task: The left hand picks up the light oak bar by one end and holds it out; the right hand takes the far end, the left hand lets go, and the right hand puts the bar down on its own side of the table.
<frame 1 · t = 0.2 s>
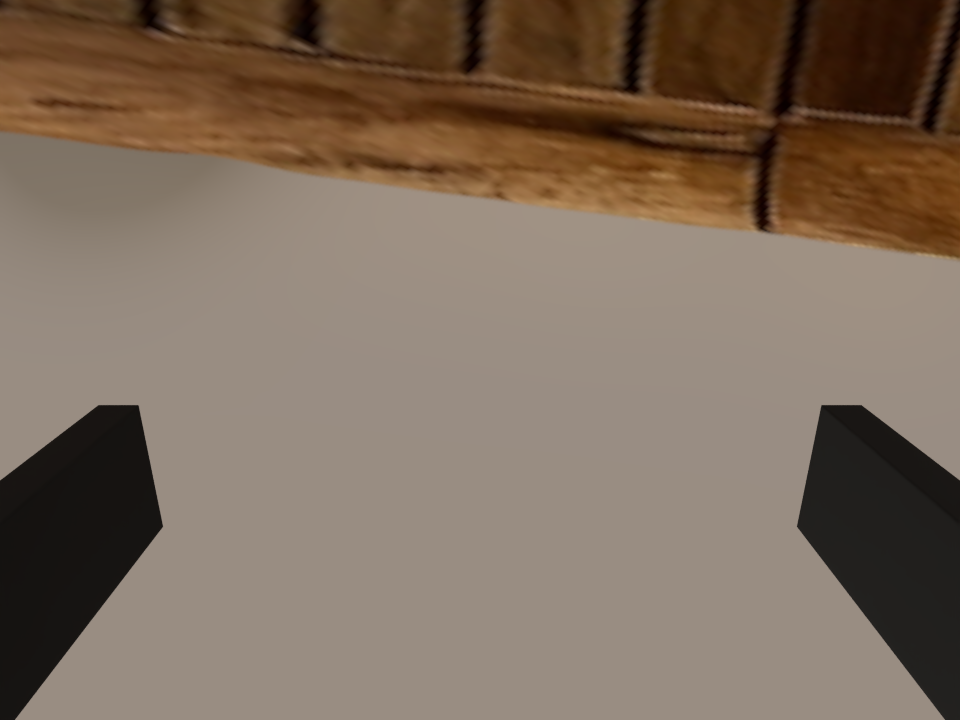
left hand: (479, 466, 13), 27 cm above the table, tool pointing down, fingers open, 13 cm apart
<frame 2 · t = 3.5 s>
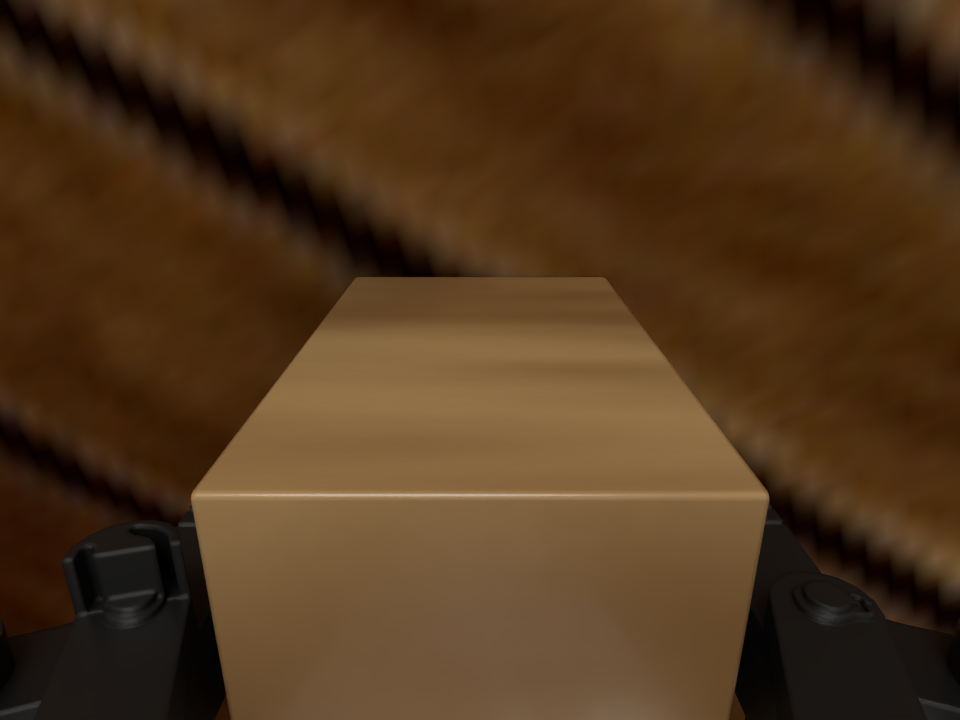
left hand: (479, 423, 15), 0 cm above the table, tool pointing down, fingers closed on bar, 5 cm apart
bar: (480, 694, 18), on the table, touching left hand
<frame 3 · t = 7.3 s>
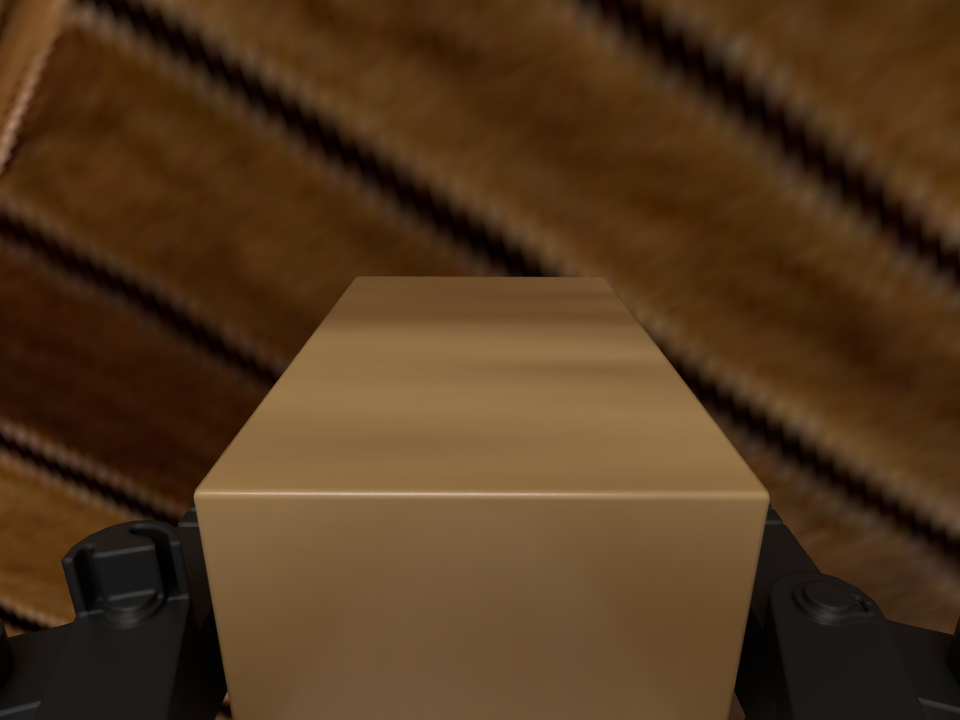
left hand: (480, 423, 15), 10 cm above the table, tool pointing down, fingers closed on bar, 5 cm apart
bar: (478, 693, 18), point 9 cm above the table, touching left hand, right hand
when the left hand's fingers open (10 cm above the table, at t = 8.3 s): bar stays where it is, held by the right hand.
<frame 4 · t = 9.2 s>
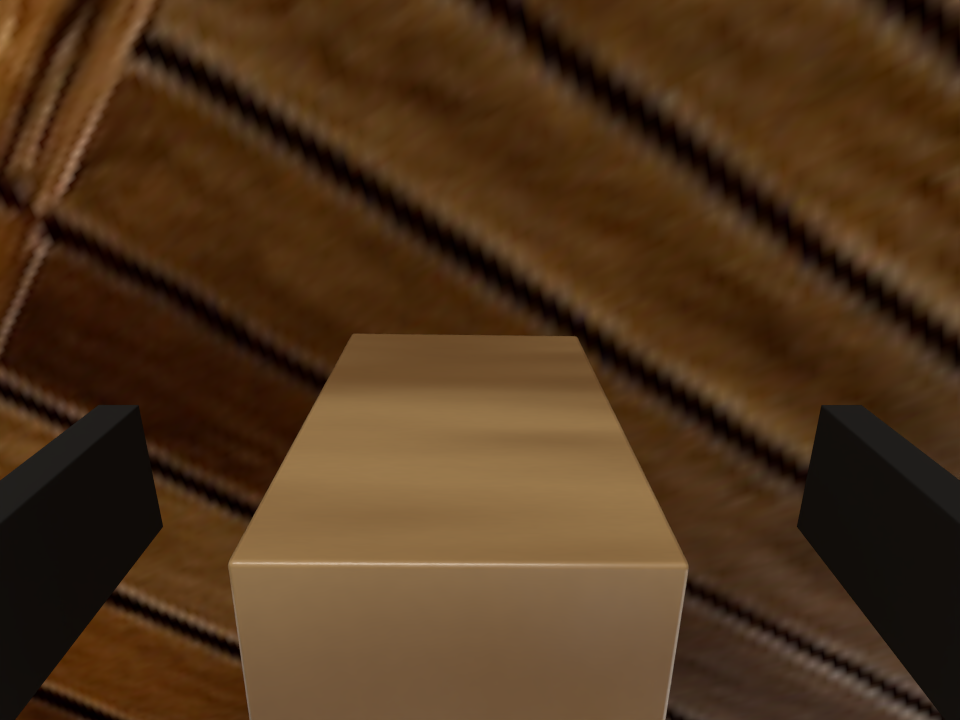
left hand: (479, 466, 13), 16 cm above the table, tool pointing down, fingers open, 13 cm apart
bar: (461, 709, 20), point 13 cm above the table, touching right hand
when the right hand's fingers open (5 cm above the table, at t = 13.8 s): bar drops 1 cm, on the table.
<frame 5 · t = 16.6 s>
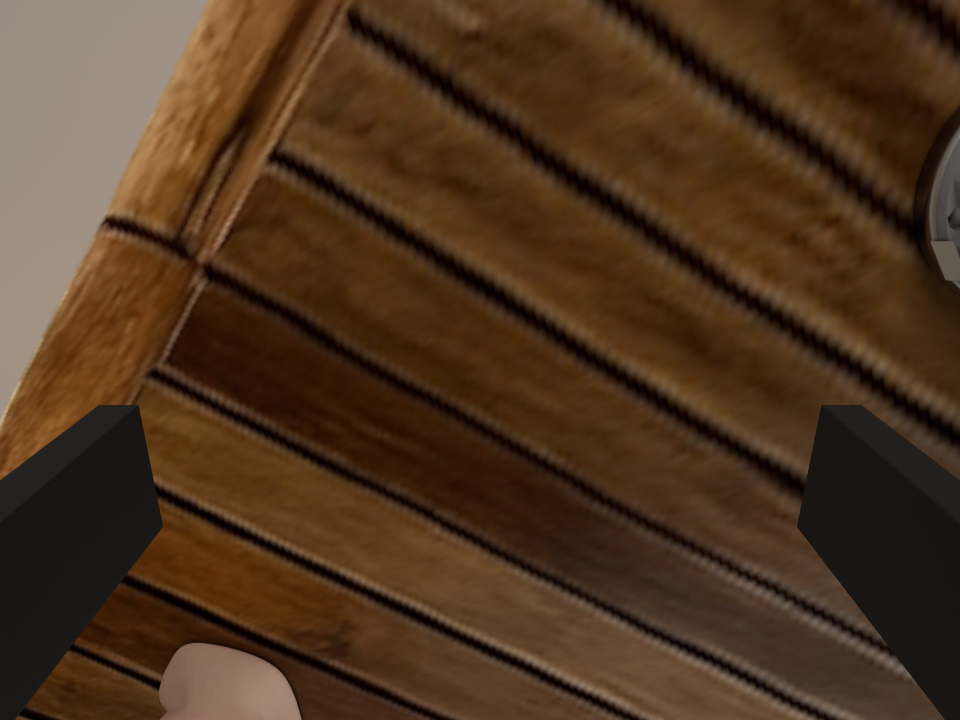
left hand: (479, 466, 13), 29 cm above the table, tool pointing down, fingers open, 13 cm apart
anatomical model: (233, 703, 54), on the table
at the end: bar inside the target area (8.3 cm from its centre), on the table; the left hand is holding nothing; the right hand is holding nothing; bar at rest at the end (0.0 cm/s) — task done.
